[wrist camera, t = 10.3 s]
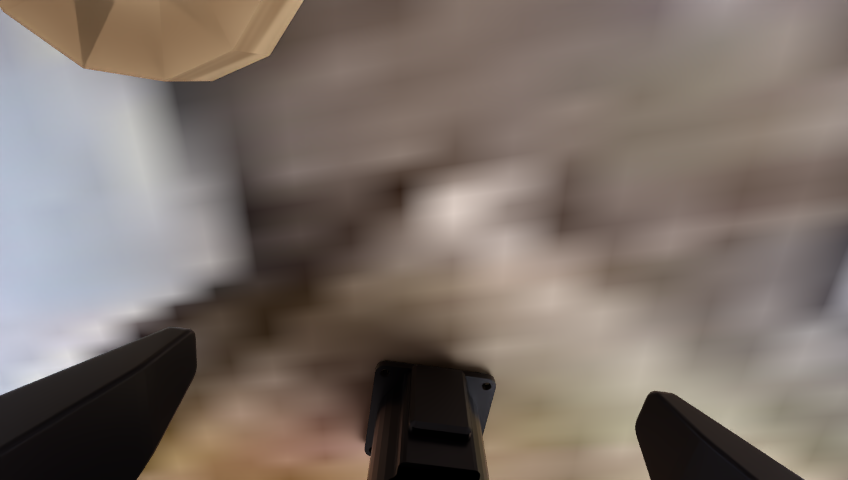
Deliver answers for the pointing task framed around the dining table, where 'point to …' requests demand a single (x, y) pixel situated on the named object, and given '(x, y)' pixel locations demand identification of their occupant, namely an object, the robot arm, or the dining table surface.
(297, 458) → the dining table surface
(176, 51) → the wooden bead
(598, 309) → the dining table surface
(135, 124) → the dining table surface
